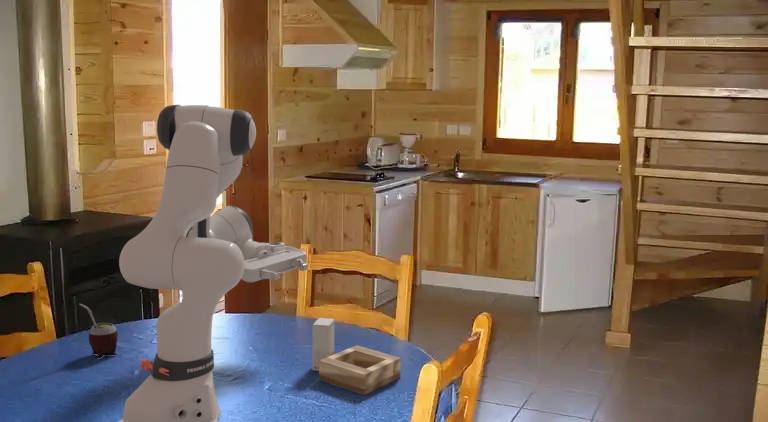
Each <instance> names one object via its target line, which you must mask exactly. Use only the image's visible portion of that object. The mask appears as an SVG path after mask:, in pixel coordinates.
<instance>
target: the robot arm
mask: <svg viewBox="0 0 768 422" xmlns="http://www.w3.org/2000/svg"><path fill="white" fill-rule="evenodd" d="M254 121H255V119H254V117H253V116H252V114H250V112H248V111H245V110H243V109H239V108H235V109H231V108H225V107H218V106H209V105H207V104H205V105H204V104H192V105H191V104H190V105H189V104H188V105H181V104H172V105H167V106H165V107H164V108H163V109H162V110H161V111H160V112H159V114H158V117H157V121H156V134H157V140H158V142H159V143H160V145H161V146H162V147H163V148H164V149H165V150H168V154H167V155H168V156H167V160H166V166H165V174H164V182H163V187H162V191H161V192H162V194H161V197H160V202H159V205H158V207H157V211H156V212H155V213H154V216H153V217H152V219H151V221H150V222H149V223H148V224H147V226H146V227H145V228H144V229H143V230H142V231H141V232H140V233H138V234H137V235H135V236H134V237H133V238H131V239H129V240H128V241H127V242H126V243H125V244H124V246H123V247H122V250H121V252H120V254H119V260H118V263H119V264H118V266H119V270H120V273H121V275H122V277H123V279H124V280H125V282H126V283H128V284H131V285H134V286H138V287H142V288H146V289H151V290H152V289H154V290H155V289H156V290H157V289H158V290H172V291H173V290H178V291H181V294H182V298H181V302H178V303H176V304H174V305H172V306H170V307H168V308H166V309H165V310H164V311H162V312H161V313H160V315H158V318H157V321H156V323H155V324H156V327H155V328H156V349H157V351H156V352H157V353H156V354H155V357H154V359H153V361H151V360H149V359H147V358H146V359H145V358H144V359H142V360H141V362H140V364H139V366H140V368H141V369H142V370H145V371H150V373H149V374H150V375H148V377H147V378H145V380H144V381H143V382H142V383H141V384H140V385H139V386H138V387H137V388H136V389H135V391H133V392H132V393H131V395H130V396H128V398H127V399H126V400H125V403H124V407H123V413H122V419H120V420H118V421H117V422H218V420H219V418H220V417H221V413H222V411H221V408H220V405H219V402H218V399H217V394H216V390H215V389H216V388H215V382H214V375H213V372H214V371H213V369H214V368H215V356H214V354H215V353H214V350H213V348H212V332H213V331H212V329H213V317H214V313H215V310H216V307H217V306H218V304H219V303H220V301H221V299H222V298H223V297H224V296H225V295H226V294H227V293H228V292H229V291H230V290H232V289H233V288H235V287H236V286H237V285H238V283H239V282H240V281H241V280H242V281H244V282H245V283H256V282H258V281H261V280H274V281H277V280H279V279H281V274H283V273H287V272H290V271H293V270H296V269H299V271H301V272H304V271H308V270H309V264H308V263H307V262H308V259H307V258H308V256H307V253H306V251H304V250H302V249H299V248H297V247H294V246H289V245H286V244H285V242H282V241H280V242H279V241H277V242H276V241H275V242H259V241H256V240H255V241H254V240H253V239H254V229H253V227H254V226H253V223H252V220H251V218H250V216H249V214H248V213H247V212H246V211H245V210H244V209H241V208H240V207H238V206H235V205H226V206H225V207H223V208H221V209H220V210H218V211H217V212H216V213H214V214H213V212H214V211H215V209H216V208H217V207H216V206H217V200H218V199H219V197H220V196H221V194H222V193H223V192H224V191H225V190H227V188H228V187H229V186H231V185H232V184H233V183H234V182H235V181H236V180H237V178H238V176H239V175H240V174H241V172H242V167H243V161H244V160H243V159H244V158H243V155H247V154H248V153H249V152H250V151H251V150H252V149H253V146H254V144H255V141H256V139H257V138H256V137H257V129H256V124H255V122H254ZM212 214H213V215H212Z"/></svg>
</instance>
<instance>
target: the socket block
mask: <svg viewBox="0 0 768 422" xmlns="http://www.w3.org/2000/svg"><path fill="white" fill-rule="evenodd" d="M401 361H402V358H401V357H399V356H396V355H392V354H391V355H389V353H384V352H382V351H378V350H374V349H370V348H368V347H364V346H360V345H354V346H352V347H349V348H346V349H344V350H341V351H339V352H336V353H334V355H331V356H329V357H326V358H324V359H321V360H319V371H318V374H319V375H318V380H319V381H321V382H324V383H327V384H329V385H332V386H335V387H339V388H341V389H345V390H346V391H350V392H353V393H356V394H359V395H362V396H366V395H368V394H370V393H371V392H373V391H376V390H378V389H380V388H382V387H384V386H387V385H388V384H390V383H391V382H394V381H397V380H398V379H400V378H401V367H402V366H401Z"/></svg>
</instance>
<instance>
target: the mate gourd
mask: <svg viewBox="0 0 768 422" xmlns="http://www.w3.org/2000/svg"><path fill="white" fill-rule="evenodd" d="M78 304H79V305H80V306H81V307H82V308H85V310H87V313H88V314H89V316H90V318H91V320H92V322H93V325H92V326H91V327H90V328H89V329H90V330H89V333H88V342H89V345H90V347H91V349H92V352H91V355H92V354H98V357H96V359H97V358H101V357H102V356H103V355H116V356H117V353H116V350H117V343H118V336H119V334H118V330H117V327H116V325H114V324H113V323H110V322H100V323H96V320H95V318H94V316H93V312H92V310H91V309H90V307H88V306H87V305H85V304H82V303H78Z"/></svg>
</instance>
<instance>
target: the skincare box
mask: <svg viewBox="0 0 768 422" xmlns="http://www.w3.org/2000/svg"><path fill="white" fill-rule="evenodd" d="M311 329H312V331H311V332H312V333H311V334H312V337H311V338H312V340H311V341H312V342H311V344H312V345H311V346H312V349H311V357H312V358H311V359H312V360H311V370H312V371H314V372H315V371H318V372H319V360H321V359H324V358H326V357H329V356H331V355H334V354H335V319H334V318H328V317H327V318H325V317H319V318H318V319H316V320H315V322H314V323H313V324H312V328H311Z"/></svg>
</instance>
